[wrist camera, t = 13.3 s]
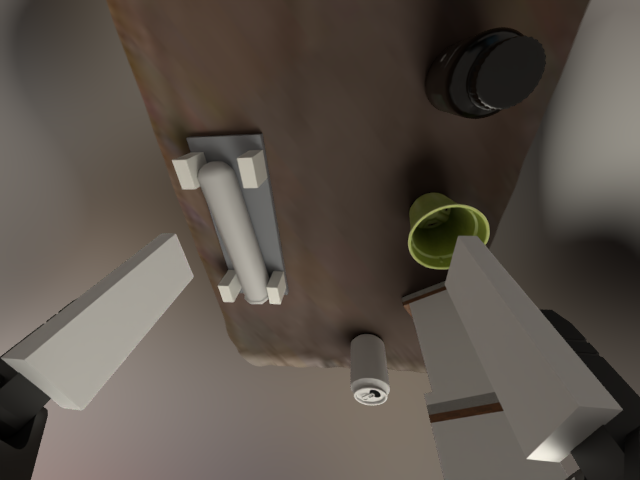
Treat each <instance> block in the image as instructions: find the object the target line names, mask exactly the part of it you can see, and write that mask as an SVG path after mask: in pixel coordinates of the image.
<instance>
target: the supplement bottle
mask: <svg viewBox="0 0 640 480" xmlns="http://www.w3.org/2000/svg"><path fill="white" fill-rule="evenodd" d="M545 58H546V55H545V54H544V49H543V48H542V44H540V43H539V42H538V40H535V39H533V37H527V36H524V35H523V34H522V33H520V32H519V31H517V30H515V29H511V28H506V27H501V28H494V29H490V30H487V31H484V32H482V33H479V34H477V35H475V36H472V37H470V38H467V39H465V40H463V41H460V42H458V43H456V44H453V45H451V46H450V47H448V48H447V49H445V50H444V51H443V52H442V53H440V54H439V55H438V57H437V58H436V59H435V60H434V62H433V63H432V65H431V67H430V69H429V71H428V74H427V78H426V94H427V97H428V100H429V101H430V103H431V104H432V105H433V106H434V107H435V108H436V109H438V110H440V111H443V112H447V113H450V114H454V115H458V116H461V117H465V118H471V119H480V118H485V117H488V116H491V115H494V114H496V113H498V112H499V111H501V110H503V109H508V108H509V107H511V106H515V105H516V104H517V103H520V102H522V101H523V99H525V98H527V97H528V95H529V94H530V93H531V92H533V90H534V88H535V87H536V86H537V85H538V82H539V80H540V79H541V78H542V74H543V72H544V66H545V64H546V62H545Z"/></svg>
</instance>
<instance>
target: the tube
mask: <svg viewBox="0 0 640 480" xmlns="http://www.w3.org/2000/svg"><path fill="white" fill-rule="evenodd" d="M197 179H198V182H199V184H200V186H201V189H202V191H203V194H204V196H205V199H206V201H207V204H208V206H209V209H210V211H211V213H212V216H213V218H214V221H215V223H216V226H217V228H218V231H219V233H220V236H221V238H222V240H223V243H224V245H225V248H226V250H227V253H228V255H229V258H230V260H231V262H232V265H233V267H234V270H235V272H236V275H237V277H238V280H239V282H240V285H241V287H242V289H243V292H244V294H245V297H244V298H245V300H246V301H248V302H249V303H250V304H263V303H264V302H265V301H267V300H268V299H269V297H268V293H267V288H266V287H267V285H268V282H269V280H270V279H269V276H268V273H267V270H266V266H265V263H264V260H263V257H262V254H261V251H260V248H259V245H258V242H257V239H256V236H255V233H254V230H253V227H252V223H251V220H250V217H249V214H248V211H247V208H246V205H245V202H244V199H243V196H242V193H241V190H240V187H239V183H238V180H237V177H236V174H235V171H234V169H232V168H231V167H230V166H229V165H228V164H226V163H224V162H222V161H213V162H209V163H207V164H205V165H203V166H202V168H201V169H200V170H199V173H198V177H197Z"/></svg>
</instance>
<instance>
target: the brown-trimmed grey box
mask: <svg viewBox="0 0 640 480" xmlns="http://www.w3.org/2000/svg"><path fill="white" fill-rule="evenodd" d="M402 302H403V306H404V307H405V309H406V310H407V311H408V313H409V314H410V316H411V317H412V318H413V320H414V324H415V328H416V332H417V335H418V339H419V343H420V347H421V351H422V354H423V358H424V362H425V366H426V370H427V373H428V377H429V381H430V385H431V388H432V392H431V393H426V394H424V396H425V400H426V405H427V409H428V413H429V418H430V422H431V426H432V431H433V435H434V439H435V443H436V448H437V452H438V456H439V460H440V464H441V469H442V473H443V477H444V480H565V479H566V478H568V475H567V473H566V471H565V469H564V468H563V466H562V464H561V462H550V461H541V460H532V459H526V457H525V455H524V453H523V451H522V449H521V447H520V444H519V442H518V440H517V438H516V436H515V434H514V432H513V430H512V427H511V425H510V423H509V421H508V419H507V417H506V415H505V412H504V410H503V408H502V406H501V404H500V402H499V400H498V398H497V395H496V393H495V391H494V389H493V387H492V385H491V383H490V380H489V378H488V376H487V374H486V372H485V370H484V368H483V365H482V363H481V361H480V359H479V357H478V355H477V353H476V351H475V348H474V346H473V344H472V342H471V340H470V338H469V336H468V333H467V331H466V329H465V327H464V325H463V323H462V321H461V318H460V316H459V314H458V312H457V310H456V308H455V306H454V304H453V301H452V299H451V297H450V295H449V293H448V291H447V289H446V286H445V281H444V282H441V283H438V284H436V285H433V286H431V287H428V288H425V289H423V290H420V291H418V292H415V293H413V294H410V295H407V296H405V297H402Z"/></svg>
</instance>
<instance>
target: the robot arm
mask: <svg viewBox="0 0 640 480" xmlns="http://www.w3.org/2000/svg"><path fill="white" fill-rule="evenodd" d="M193 277H194V276H193V273H192V271H191V269H190V266H189V264H188V261H187V259H186V257H185V255H184V252H183V250H182V247H181V245H180V242H179V240H178V238H177V235H176V234H160V235H159V236H158V237H156V238H155V239H154V240H153V241H151V242H150V243H149V244H147V245H146V246H145V247H144V248H142V249H141V250H140V251H138V252H137V253H136V254H135V255H133V256H132V257H131V258H129V259H128V260H127V261H125V262H124V263H123V264H122V265H120V266H119V267H118V268H116V269H115V270H114V271H112V272H111V273H110V274H109V275H107V276H106V277H105V278H103V279H102V280H101V281H100V282H98V283H97V284H96V285H94V286H93V287H92V288H90V289H89V290H88V291H87V292H85V293H84V294H83V295H82V296H80V297H79V298H77V299H76V300H74V301H72V302H71V303H70V304H68V305H67V306H66V307H64V308H63V309H62V310H60V311H59V313H58V314H55V315H54V316H53V317H51V318H50V319H49V320H47V322H46V323H45V324H42V325H41V326H40V327H38V328H37V329H36V330H34V331H33V332H32V333H30V334H29V335H28V336H27V337H25V338H24V339H23V340H21V341H20V342H19V343H18V344H16V345H15V346H14V347H12V348H11V349H10V350H8V351H7V352H6V353H4V354H3V355H2V356H1V357H0V480H31V477H32V473H33V469H34V466H35V462H36V458H37V454H38V450H39V447H40V443H41V439H42V435H43V431H44V428H45V424H46V420H47V416H48V411H47V409H46V408H44V407H43V406H44V405H45V404H46V403H47V402H48V401H49V400H50V399H52V400H53V401H54V402H55V403H57V404H58V405H59V406H60V407H62V408H66V409H75V410H84V408H85V407H86V406H87V405H88V404H89V402H90V401H91V400H92V399H93V398H94V396H95V395H96V394H97V393H98V392H99V390H100V389H101V388H102V387H103V386H104V384H105V383H106V382H107V381H108V380H109V378H110V377H111V376H112V375H113V373H114V372H115V371H116V370H117V369H118V368H119V366H120V365H121V364H122V363H123V361H124V360H125V359H126V358H127V357H128V355H129V354H130V353H131V352H132V351H133V349H134V348H135V347H136V346H137V345H138V343H139V342H140V341H141V340H142V339H143V337H144V336H145V335H146V334H147V332H148V331H149V330H150V329H151V328H152V326H153V325H154V324H155V323H156V321H158V319H159V318H160V317H161V316H162V315H163V313H164V312H165V311H166V310H167V309H168V307H169V306H170V305H171V304H172V302H173V301H174V300H175V299H176V298H177V297H178V295H179V294H180V293H181V292H182V291H183V289H184V288H185V287H186V286H187V284H188V283H189V282H190V281H191V280H192V278H193ZM445 286H446V289H447V291H448V293H449V295H450V297H451V299H452V301H453V304H454V306H455V308H456V310H457V312H458V314H459V316H460V318H461V321H462V323H463V325H464V327H465V329H466V331H467V333H468V336H469V338H470V340H471V342H472V344H473V346H474V348H475V351H476V353H477V355H478V357H479V359H480V361H481V363H482V365H483V368H484V370H485V372H486V374H487V376H488V378H489V380H490V383H491V385H492V387H493V389H494V391H495V393H496V395H497V398H498V400H499V402H500V404H501V406H502V408H503V410H504V412H505V415H506V417H507V419H508V421H509V423H510V425H511V427H512V430H513V432H514V434H515V436H516V438H517V440H518V442H519V444H520V447H521V449H522V451H523V453H524V455H525V457H526V459H532V460H541V461H550V462H560V461H562V460H563V459H564V458H565V457H566V456H568V455H569V454H570V453H571V454H572V456H573V457H574V459H575V461H576V462H577V464H578V466H579V467H580V469H579V470H577V471H576V472H575V473H573V474H572V475H571V476H569V477H568V478H566V479H565V480H640V397H639V396H638V395H637V394H636V393H635V391H634V390H633V389H632V388H631V387H630V386H629V385H628V384H627V383H626V382H625V381H624V380H623V379H622V377H621V376H620V375H619V374H618V373H617V372H616V371H615V370H614V369H613V368H612V367H611V366H610V365H609V363H608V362H607V361H606V360H605V359H604V358H603V357H600V356H599V353H598V352H597V350H596V349H595V348H594V347H593V346H592V345H591V344H590V343H587V342H586V339H585V337H584V336H583V335H582V334H581V333H580V332H579V331H578V330H577V329H576V328H575V327H574V326H573V325H572V324H571V323H570V322H569V321H567V320H566V319H564V318H563V317H561V316H560V315H558V314H557V313H556V312H554V311H553V310H540V309H538V308H537V306H536V305H535V304H534V303H533V302H532V301H531V299H530V298H529V297H528V296H527V295H526V294H525V292H524V291H523V290H522V289H521V287H520V286H519V285H518V284H517V283H516V282H515V280H514V279H513V278H512V277H511V276H510V274H509V273H508V272H507V271H506V270H505V268H504V267H503V266H502V265H501V264H500V262H499V261H498V260H497V259H496V258H495V256H494V255H493V254H492V253H491V252H490V250H489V249H488V248H487V247H486V246H485V245H484V243H483V242H482V241H481V240H480V239H479V237H478V236H458V238H457V242H456V245H455V249H454V252H453V256H452V260H451V263H450V267H449V270H448V274H447V278H446V281H445Z"/></svg>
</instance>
